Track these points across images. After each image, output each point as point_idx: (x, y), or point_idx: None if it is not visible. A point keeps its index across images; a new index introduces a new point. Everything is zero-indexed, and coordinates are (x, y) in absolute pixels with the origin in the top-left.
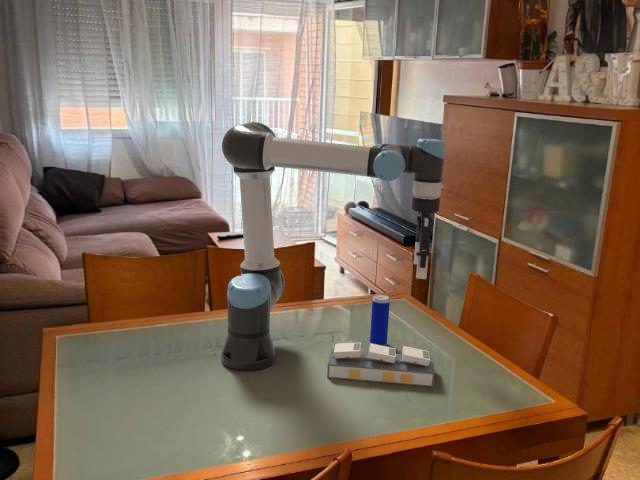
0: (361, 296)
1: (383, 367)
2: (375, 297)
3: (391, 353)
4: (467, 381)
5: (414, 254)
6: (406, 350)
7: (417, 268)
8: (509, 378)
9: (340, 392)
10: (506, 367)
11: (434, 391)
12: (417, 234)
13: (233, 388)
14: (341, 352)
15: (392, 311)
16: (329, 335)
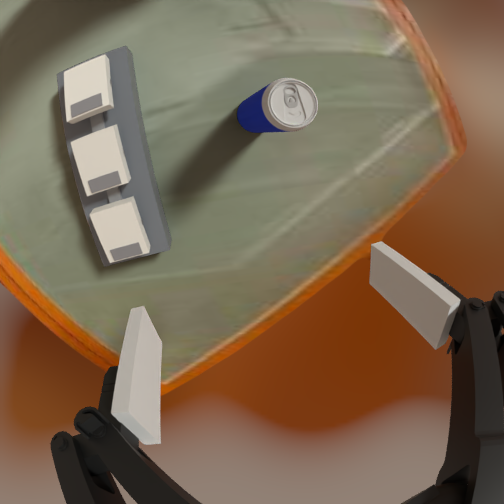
0: (445, 82)
1: (78, 173)
2: (291, 85)
3: (94, 184)
4: (159, 298)
5: (407, 264)
6: (113, 213)
7: (123, 346)
8: (201, 344)
9: (32, 123)
10: (237, 337)
11: (98, 259)
12: (472, 364)
13: (19, 3)
14: (65, 86)
15: (411, 132)
16: (261, 19)
